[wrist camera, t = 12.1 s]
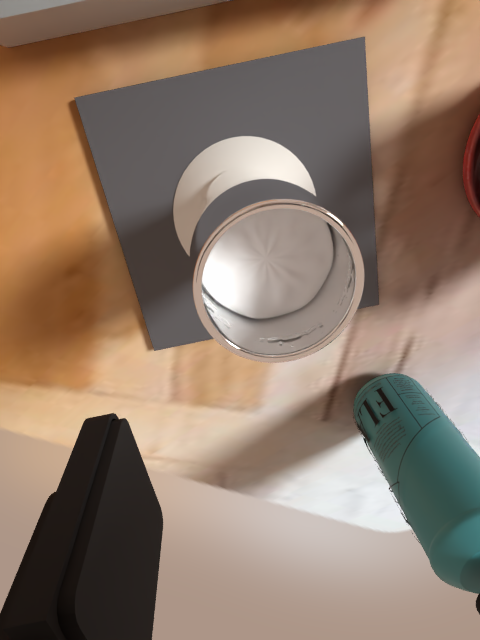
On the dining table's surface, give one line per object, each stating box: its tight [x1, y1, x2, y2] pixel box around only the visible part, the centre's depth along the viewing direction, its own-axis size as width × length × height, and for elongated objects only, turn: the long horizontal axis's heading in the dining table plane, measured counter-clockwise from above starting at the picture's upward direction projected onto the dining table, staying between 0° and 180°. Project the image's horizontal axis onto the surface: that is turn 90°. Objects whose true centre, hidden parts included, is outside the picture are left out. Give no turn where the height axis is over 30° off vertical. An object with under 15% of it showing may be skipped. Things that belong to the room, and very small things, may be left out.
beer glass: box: [190, 167, 364, 363], centre depth 23 cm, size 7×7×15 cm
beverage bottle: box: [353, 373, 480, 614], centre depth 29 cm, size 6×7×20 cm
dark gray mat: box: [75, 37, 379, 351], centre depth 30 cm, size 18×18×1 cm
